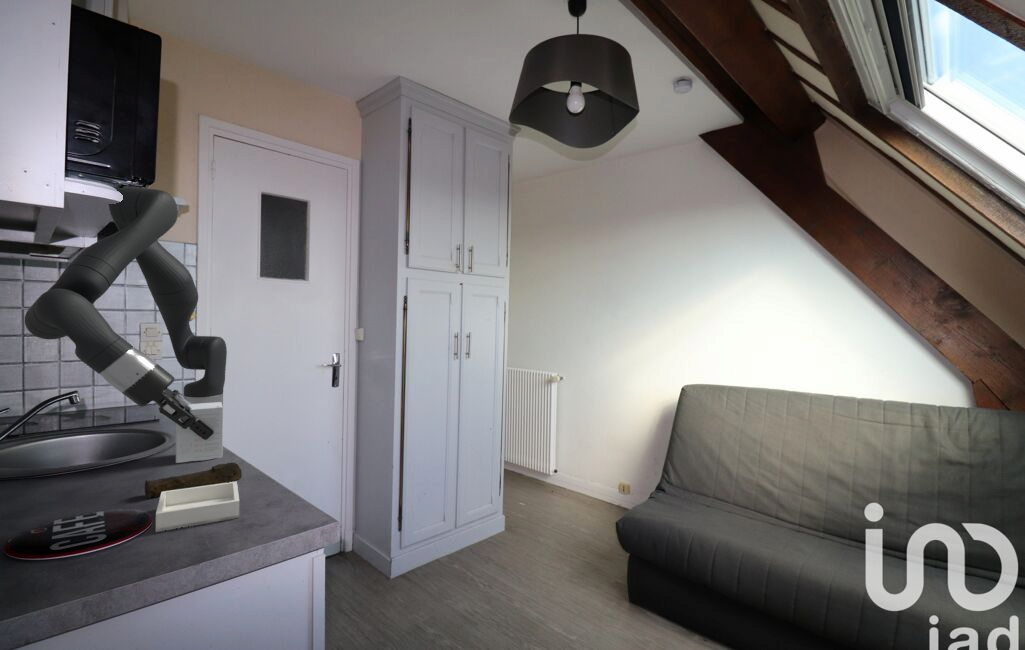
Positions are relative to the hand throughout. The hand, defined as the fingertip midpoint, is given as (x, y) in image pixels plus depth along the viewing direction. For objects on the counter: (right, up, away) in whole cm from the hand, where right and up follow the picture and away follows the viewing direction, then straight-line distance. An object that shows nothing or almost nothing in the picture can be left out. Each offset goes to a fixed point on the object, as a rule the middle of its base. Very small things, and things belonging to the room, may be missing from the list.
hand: (210, 432), depth 100 cm
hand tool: (-12, -16, +13) cm, 24 cm away
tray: (-2, -17, 0) cm, 17 cm away
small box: (-2, -5, -1) cm, 5 cm away
